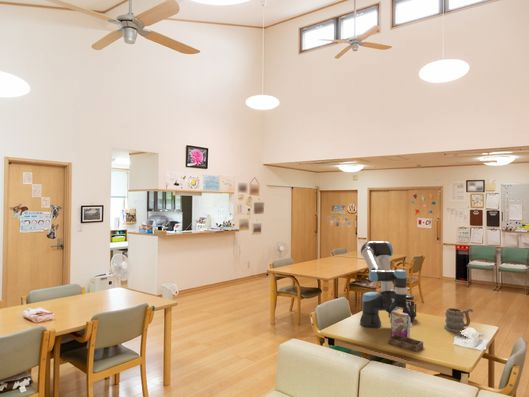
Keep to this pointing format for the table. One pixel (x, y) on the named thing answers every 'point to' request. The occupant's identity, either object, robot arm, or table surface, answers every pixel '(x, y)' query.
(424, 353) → the table surface
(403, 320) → the candy bar box
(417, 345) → the holder tray
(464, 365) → the table surface
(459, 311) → the tankard
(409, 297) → the french press
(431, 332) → the table surface
